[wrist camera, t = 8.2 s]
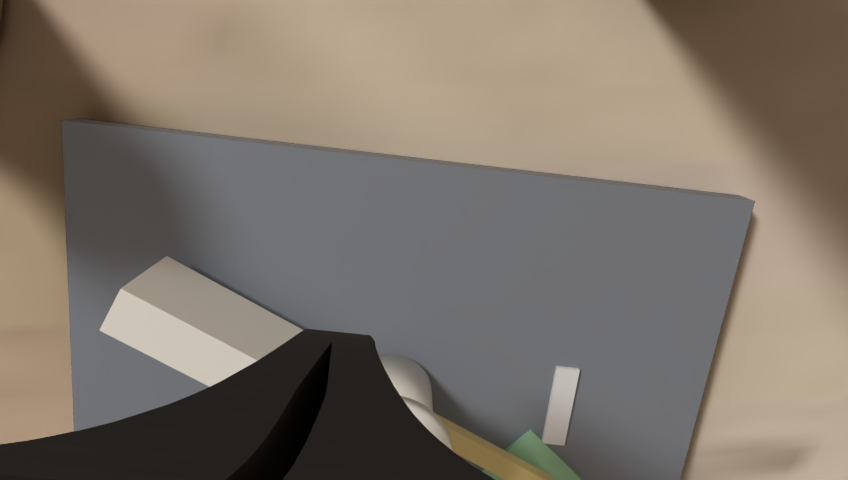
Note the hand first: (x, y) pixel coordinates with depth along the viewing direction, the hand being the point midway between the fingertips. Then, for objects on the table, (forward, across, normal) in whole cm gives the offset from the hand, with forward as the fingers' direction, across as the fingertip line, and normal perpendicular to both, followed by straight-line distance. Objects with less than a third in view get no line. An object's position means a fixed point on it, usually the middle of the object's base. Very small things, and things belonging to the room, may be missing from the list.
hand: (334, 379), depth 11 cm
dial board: (+9, -1, +6) cm, 11 cm away
